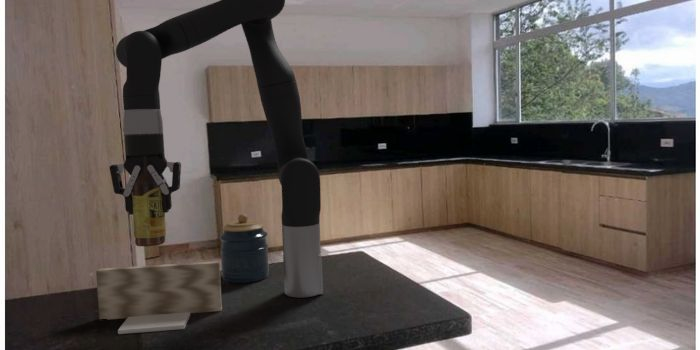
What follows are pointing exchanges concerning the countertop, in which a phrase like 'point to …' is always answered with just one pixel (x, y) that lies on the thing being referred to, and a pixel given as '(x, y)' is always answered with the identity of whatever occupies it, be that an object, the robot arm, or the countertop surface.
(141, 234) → the sauce bottle
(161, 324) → the white plate
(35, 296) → the countertop surface
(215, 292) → the birch board
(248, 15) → the robot arm
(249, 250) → the canister
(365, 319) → the countertop surface
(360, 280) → the countertop surface
